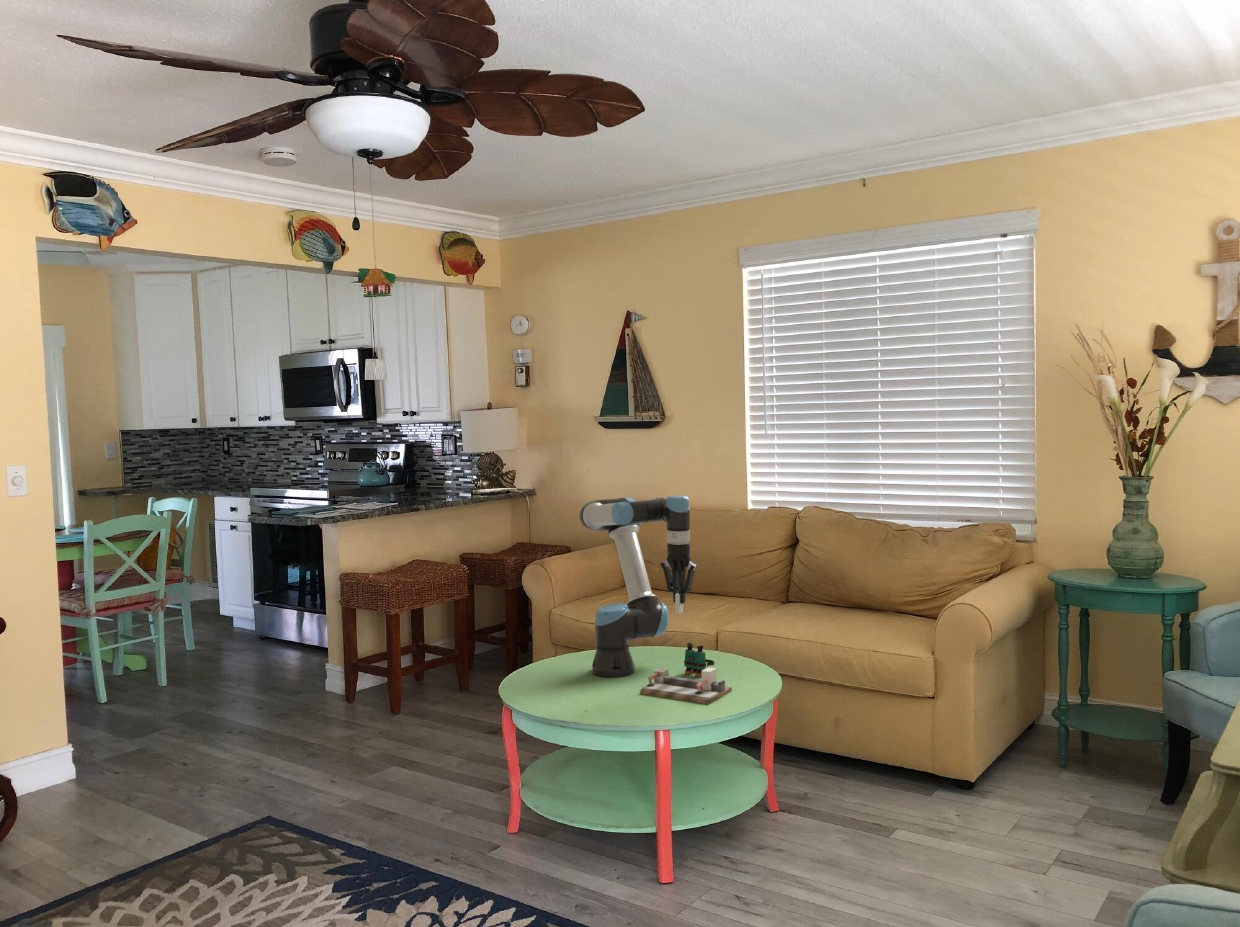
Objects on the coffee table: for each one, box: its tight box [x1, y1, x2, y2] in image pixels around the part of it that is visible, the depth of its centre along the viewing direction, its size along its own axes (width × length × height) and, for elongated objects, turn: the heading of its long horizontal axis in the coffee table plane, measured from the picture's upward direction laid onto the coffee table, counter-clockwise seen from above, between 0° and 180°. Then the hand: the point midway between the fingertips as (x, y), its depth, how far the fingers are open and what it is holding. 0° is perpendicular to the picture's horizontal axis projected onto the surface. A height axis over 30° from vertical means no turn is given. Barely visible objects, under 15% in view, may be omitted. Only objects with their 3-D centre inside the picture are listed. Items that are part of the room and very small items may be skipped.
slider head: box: [697, 667, 718, 692], centre depth 302 cm, size 3×10×6 cm, turn 147°
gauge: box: [639, 667, 733, 705], centre depth 305 cm, size 25×16×5 cm, turn 57°
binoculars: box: [683, 642, 715, 677], centre depth 327 cm, size 9×11×10 cm
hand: (679, 612), depth 313 cm, fingers closed
